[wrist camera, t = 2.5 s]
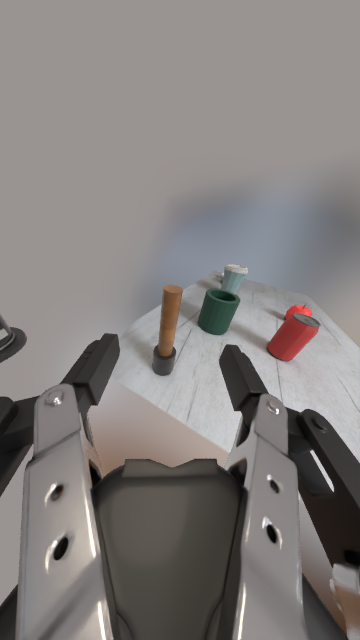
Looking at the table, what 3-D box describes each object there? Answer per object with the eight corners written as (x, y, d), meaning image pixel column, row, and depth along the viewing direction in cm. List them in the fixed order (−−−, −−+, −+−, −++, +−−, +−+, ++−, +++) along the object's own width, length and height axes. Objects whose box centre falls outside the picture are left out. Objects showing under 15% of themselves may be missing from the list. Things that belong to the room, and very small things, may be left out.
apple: (283, 322, 55) (295, 305, 50) (280, 314, 61) (291, 298, 56) (305, 330, 52) (321, 313, 48) (301, 321, 58) (314, 305, 54)
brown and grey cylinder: (149, 373, 28) (153, 291, 18) (156, 356, 31) (162, 280, 21) (170, 377, 27) (186, 298, 17) (174, 360, 31) (189, 286, 21)
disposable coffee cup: (216, 297, 66) (227, 265, 57) (215, 289, 75) (224, 261, 66) (238, 302, 65) (252, 270, 57) (234, 293, 74) (246, 265, 66)
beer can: (276, 361, 36) (306, 326, 29) (261, 343, 41) (284, 310, 34) (296, 362, 37) (331, 328, 30) (280, 344, 42) (306, 312, 36)
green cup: (197, 331, 42) (206, 298, 35) (198, 314, 50) (206, 286, 44) (228, 337, 41) (244, 306, 35) (224, 320, 49) (236, 292, 43)
